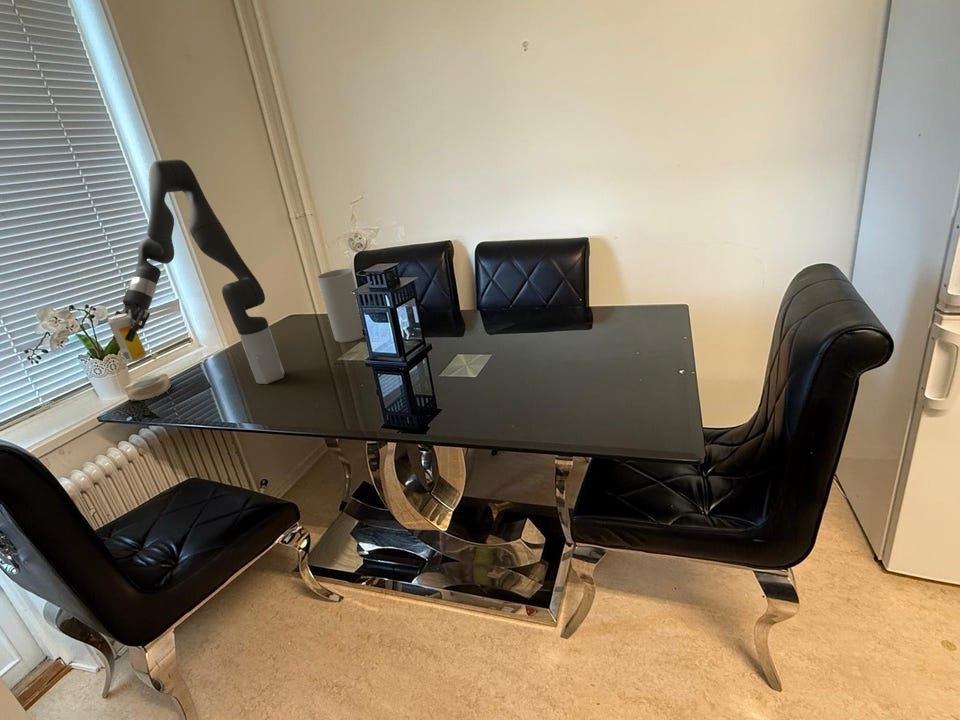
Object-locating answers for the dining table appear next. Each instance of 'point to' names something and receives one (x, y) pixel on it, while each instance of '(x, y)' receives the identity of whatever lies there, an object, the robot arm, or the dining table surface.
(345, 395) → the dining table surface
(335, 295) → the cylinder vase
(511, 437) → the dining table surface
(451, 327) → the dining table surface
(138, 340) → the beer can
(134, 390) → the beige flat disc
